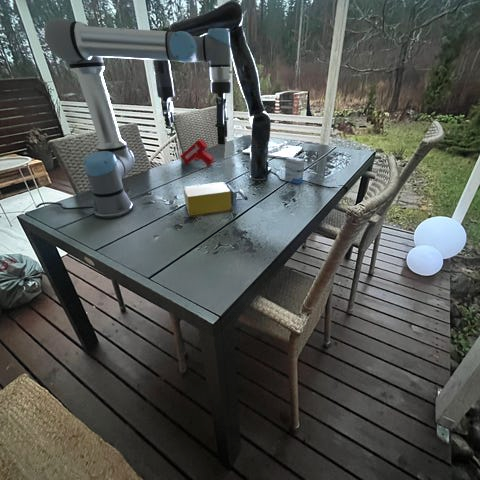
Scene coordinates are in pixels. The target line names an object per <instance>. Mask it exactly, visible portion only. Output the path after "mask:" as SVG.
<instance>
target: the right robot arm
mask: <svg viewBox="0 0 480 480" xmlns="http://www.w3.org/2000/svg"><path fill="white" fill-rule="evenodd" d="M243 19H244V11H243V8H242V6H241V5H240V3H238V2H237V1H235V0H227V1H226V2H225V3H223V4H221V5H220V6H218V7H216V8H214V9H213V10H210V11H208V12H205V13H202V14H200V15H195V16H193V17H189V18H185V19H182V20H179V21H176V22H173V23H172V24H170V25H169V26H165V27H162V28H157V27H153V28H150V30H154V31H167V32H178V31H185V32H187V33H189V34H191V35H192V36H206V35H208V30H209V29H212V28H223V29H227V30H228V31H229V34H230V54H231V59H232V62H233V63H232V64H233V67H234V72H235V74H236V78H237V83H238V84H239V87H240V91H241V93H242V95H243V98H244V100H245V103H246V106H247V111H248V117H249V123H250V126H251V137H250V146H251V148H250V154H249V157H250V158H249V160H250V161H249V165H250V166H249V167H250V168H249V178H250V180H253V181H256V182H257V181H265V180H268V179H269V176H270V174H273V175H275V176H276V177H277V179H278V180H279V181H281V182H286V181H285V179H282V178H281V177H280V176H279V175H278V174H277V173H276V172H274V171H272V167H270V166H269V156H268V145H269V140H270V139H271V125H272V122H271V117H270V115H269V114H268V113H267V112H266V109H265V107H264V104H263V101H262V97H261V90H260V88H261V86H260V79H259V74H258V69H257V67H256V63H255V60H254V57H253V55H252V52H251V50H250V48H249V46H248V42H247V40H246V35H245V31H244V26H243ZM152 66H153V73H154V82H155V83H154V84H155V88H156V89H155V90H156V95H157V98H159V99H162V101H161V102H160V104H161V112H162V117H163V118H164V123H165V126H166V127H171V125H172V124H174V122H175V121H174V112H175V111H174V104H173V98H174V97H175V90H174V81H173V76H172V70H171V63H170V61H169V60H152ZM302 182H304V183H307V184H311V185H315V186H318V187H320V188H321V187H322V188H326V189H338V187H335V186H327V185H323V184H319V183H316V182H312V181H309V180H305V179H303V181H302ZM338 186H344V187H343V188H344V189H345V190H346V189H348V187H347V186H346V185H343V184H340V185H338Z"/></svg>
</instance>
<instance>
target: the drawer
mask: <svg viewBox="0 0 480 480" xmlns="http://www.w3.org/2000/svg"><path fill="white" fill-rule="evenodd" d="M226 186H227V187H228V189H229V190H230V191H231V207H232V208H233V209H237V201H242V200H244V201H248V200H249V197H248V196H247V195H246V194H245V193H244V191H243V190H242V189H239V190H235V189H234V188H233V187H232V185H230V183H226ZM237 194H239V195H240V196H241V197H238V198H237Z"/></svg>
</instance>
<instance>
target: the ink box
mask: <svg viewBox="0 0 480 480" xmlns="http://www.w3.org/2000/svg"><path fill="white" fill-rule="evenodd" d="M305 162H306V159H304V158H299V157H296V156H294V157H289V158H287V159H286V158H285V169H284V180H285V181H284V182H289V183H293V184H295V185H298V184H300V183H302V182H304V181H303V180H304V173H305V171H304V170H305Z"/></svg>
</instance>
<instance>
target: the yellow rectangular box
mask: <svg viewBox="0 0 480 480" xmlns="http://www.w3.org/2000/svg"><path fill="white" fill-rule="evenodd" d="M183 195H184V202H185V203H184V205H185V208H186V211H187V213H188V216H189V218H197V217H203V216H210V215H215V214H223V213H230V212H232V205H231V191H230V190H229V189H228V187H227V184H226V183H225V182H224V181H220V182H219V181H218V182H211V183H203V184H195V185H187V186H185V185H184V186H183Z"/></svg>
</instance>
